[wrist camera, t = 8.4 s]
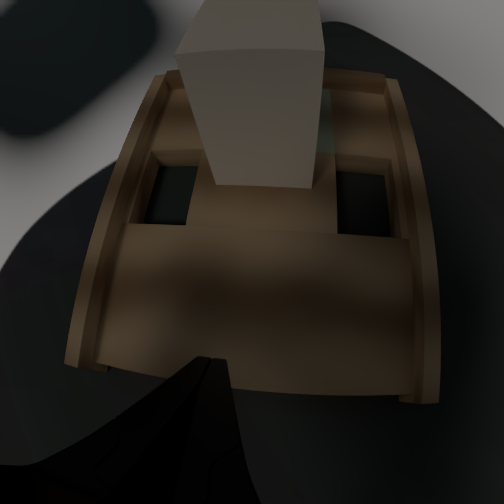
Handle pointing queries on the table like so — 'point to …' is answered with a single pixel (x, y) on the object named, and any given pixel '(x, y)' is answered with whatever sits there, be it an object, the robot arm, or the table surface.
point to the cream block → (256, 88)
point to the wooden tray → (268, 260)
